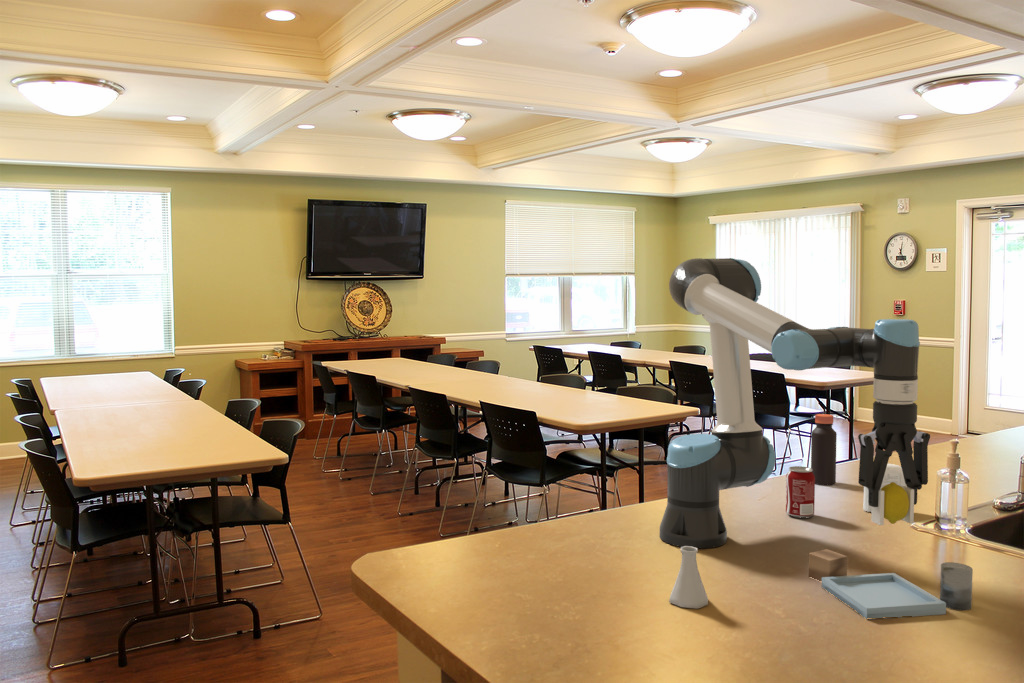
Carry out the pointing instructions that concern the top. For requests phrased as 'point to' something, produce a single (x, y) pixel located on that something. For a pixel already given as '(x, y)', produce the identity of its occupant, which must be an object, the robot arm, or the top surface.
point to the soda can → (800, 492)
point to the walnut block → (827, 564)
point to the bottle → (823, 450)
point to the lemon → (895, 502)
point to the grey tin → (956, 585)
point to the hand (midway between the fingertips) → (892, 522)
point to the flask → (689, 582)
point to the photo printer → (886, 482)
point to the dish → (883, 595)
